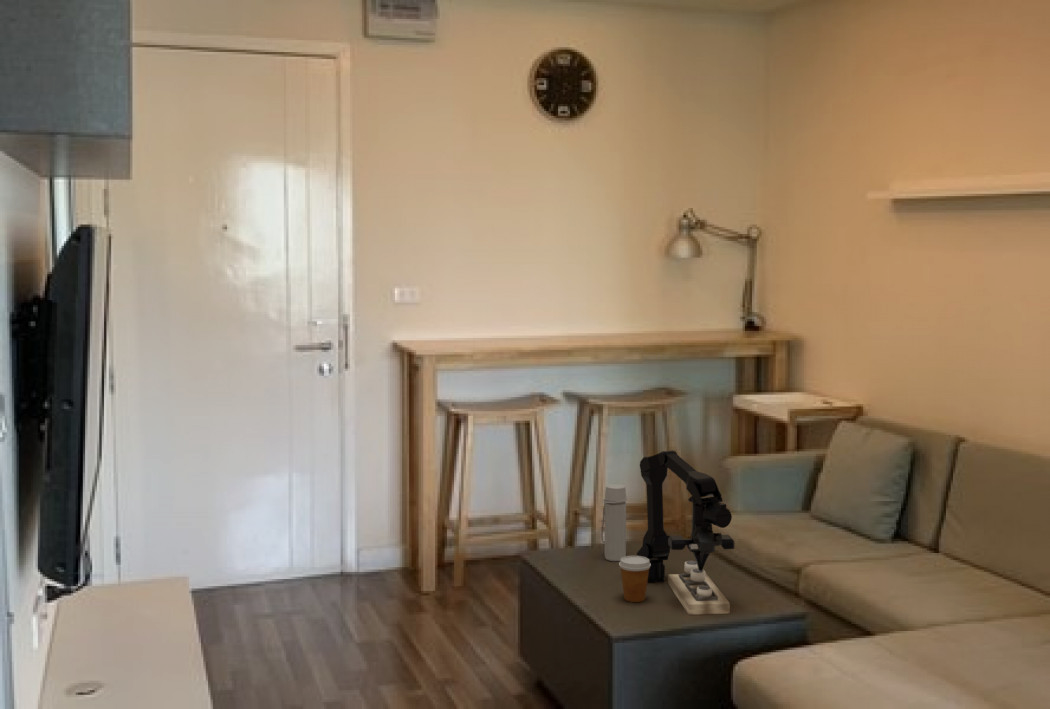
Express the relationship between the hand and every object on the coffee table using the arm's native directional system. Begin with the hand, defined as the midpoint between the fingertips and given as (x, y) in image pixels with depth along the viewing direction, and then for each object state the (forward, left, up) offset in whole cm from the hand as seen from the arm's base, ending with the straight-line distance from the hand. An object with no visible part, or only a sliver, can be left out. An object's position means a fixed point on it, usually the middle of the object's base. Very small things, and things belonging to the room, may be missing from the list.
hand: (700, 570), depth 317 cm
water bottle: (-19, +46, -10) cm, 50 cm away
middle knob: (0, +4, -4) cm, 6 cm away
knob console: (0, +4, -10) cm, 10 cm away
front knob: (0, -4, -7) cm, 8 cm away
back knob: (0, +12, -4) cm, 12 cm away
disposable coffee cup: (-19, +5, -10) cm, 22 cm away
